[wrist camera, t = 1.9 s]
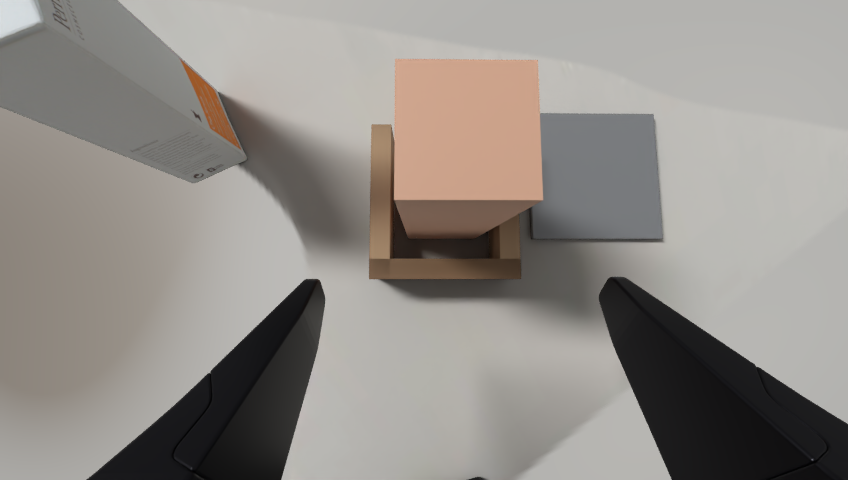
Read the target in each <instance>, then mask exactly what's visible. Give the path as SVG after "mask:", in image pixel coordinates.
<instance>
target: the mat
mask: <svg viewBox="0 0 848 480" xmlns="http://www.w3.org/2000/svg"><path fill="white" fill-rule="evenodd" d="M540 131H541V157H542V183H543V201H541V202H539V203H537V204H535V205H534V206H532V207H530V217H531V239H663V234H662V221H661V208H660V194H659V181H658V168H657V155H656V142H655V129H654V115H653V114H552V113H540Z"/></svg>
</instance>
